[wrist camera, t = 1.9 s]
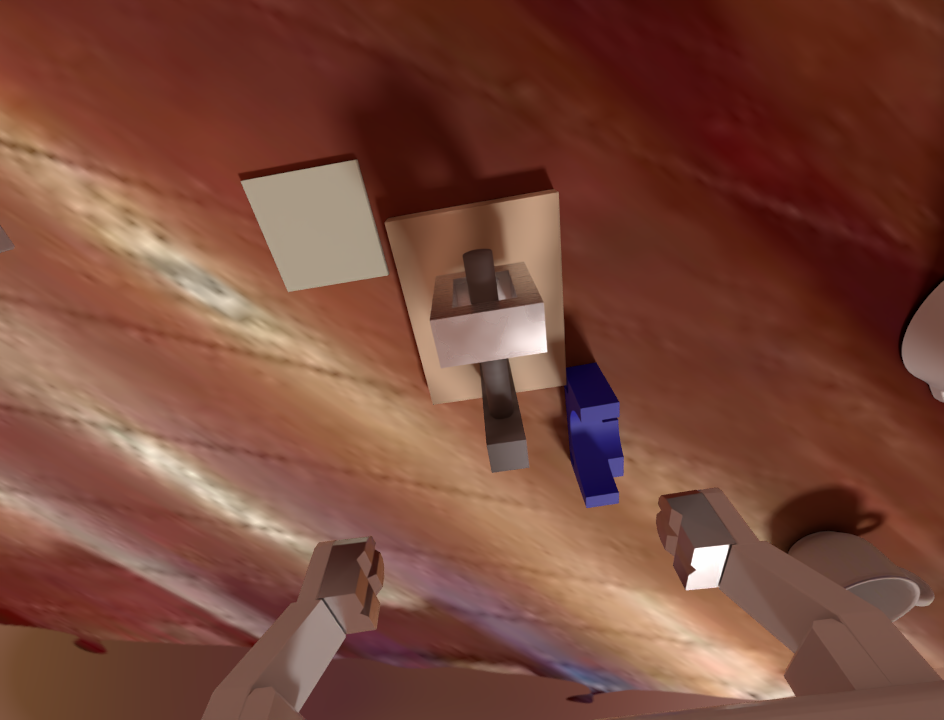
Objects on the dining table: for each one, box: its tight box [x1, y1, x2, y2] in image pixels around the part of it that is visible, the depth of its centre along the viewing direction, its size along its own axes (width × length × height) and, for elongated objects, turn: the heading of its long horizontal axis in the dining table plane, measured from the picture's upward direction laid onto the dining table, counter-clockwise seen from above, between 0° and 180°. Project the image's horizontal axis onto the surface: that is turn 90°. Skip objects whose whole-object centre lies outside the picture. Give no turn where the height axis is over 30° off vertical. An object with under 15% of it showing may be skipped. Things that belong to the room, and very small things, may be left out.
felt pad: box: [241, 159, 389, 292], centre depth 28 cm, size 8×8×1 cm
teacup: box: [788, 531, 934, 622], centre depth 48 cm, size 14×11×8 cm
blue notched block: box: [564, 363, 624, 508], centre depth 36 cm, size 12×4×6 cm, turn 11°
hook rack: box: [385, 189, 567, 473], centre depth 27 cm, size 12×16×12 cm
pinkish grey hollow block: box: [430, 261, 547, 368], centre depth 24 cm, size 6×3×7 cm, turn 99°
